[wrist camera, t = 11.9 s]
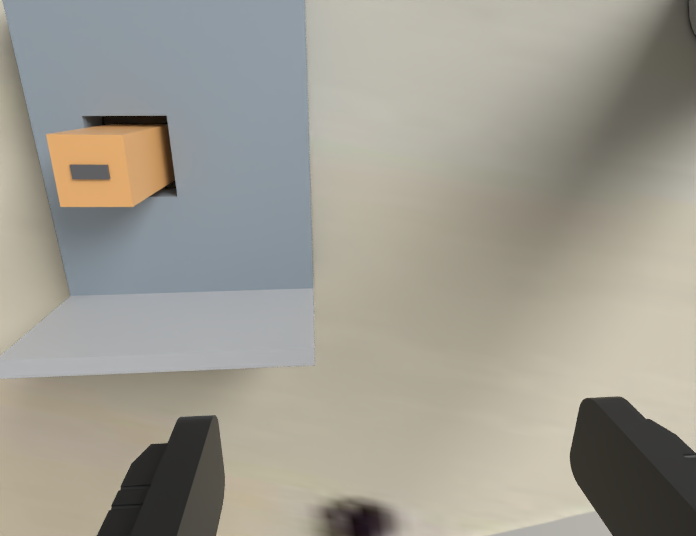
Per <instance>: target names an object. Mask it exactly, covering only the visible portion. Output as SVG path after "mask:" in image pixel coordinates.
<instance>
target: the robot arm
mask: <svg viewBox="0 0 696 536" xmlns="http://www.w3.org/2000/svg"><path fill="white" fill-rule="evenodd" d="M689 17H690V21H691V25H692V29H693V31H694V33H695V35H696V0H689ZM570 464H571V469H572V472H573V475H574V478H575V480H576V482H577V484H578V485H579V487H580V488H581V490H582V491H583V493H584V494H585V495H586V497H587V498H588V500H589V501H590V503H591V504H592V506H593V507H594V509H595V510H596V512H597V513H598V514H599V516H600V517H601V519H602V520H603V522H604V523H605V525H606V526H607V528H608V529H609V531H610V532H611V534H612V535H613V536H696V453H695V452H694V451H693V450H692V449H691V448H690V447H689V446H687V445H686V444H685V443H684V442H683V441H682V440H681V439H680V438H679V437H678V436H677V435H676V434H674V433H672V432H671V431H669V430H667V429H666V428H664V427H662V426H661V425H659V424H657V423H655V422H654V421H652V420H650V419H645V418H644V417H643V416H642V415H641V414H640V413H639V412H638V411H637V410H636V409H635V408H634V407H633V406H632V405H631V404H630V403H629V402H628V401H627V400H626V399H624V398H622V397H600V398H586V399H584V400H583V401H582V402H581V404H580V407H579V412H578V417H577V422H576V427H575V432H574V436H573V441H572V446H571V451H570ZM224 487H225V475H224V465H223V457H222V448H221V440H220V432H219V424H218V419H217V417H216V416H215V415H212V416H192V417H180V418H178V420H177V422H176V424H175V427H174V429H173V431H172V434H171V436H170V439H169V441H168V443H164V444H151V445H150V446H149V447H148V448H147V449H146V450H145V451H144V452H143V453H142V454H141V455H140V456H139V457H138V458H137V459H136V460H135V461H134V462H133V463H132V464H131V466H130V468H129V470H128V472H127V474H126V476H125V478H124V481H123V483H122V485H121V490H120V491H118V493H117V495H116V497H115V499H114V501H113V503H112V508H111V510H109V512H108V514H107V516H106V518H105V520H104V522H103V524H102V526H101V528H100V530H99V532H98V535H97V536H216V533H217V528H218V524H219V519H220V514H221V510H222V505H223V499H224Z"/></svg>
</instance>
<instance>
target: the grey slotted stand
mask: <svg viewBox="0 0 696 536" xmlns="http://www.w3.org/2000/svg"><path fill="white" fill-rule="evenodd" d="M2 1H3V5H4V9H5V14H6V18H7V22H8V27H9V31H10V35H11V40H12V44H13V48H14V53H15V57H16V61H17V66H18V70H19V74H20V79H21V83H22V88H23V92H24V96H25V101H26V105H27V109H28V114H29V118H30V122H31V127H32V131H33V135H34V140H35V144H36V148H37V153H38V157H39V161H40V166H41V170H42V174H43V179H44V183H45V187H46V192H47V196H48V200H49V205H50V209H51V213H52V218H53V222H54V226H55V231H56V235H57V239H58V244H59V248H60V252H61V257H62V261H63V265H64V270H65V274H66V278H67V283H68V287H69V291H70V297H69V298H67V299H66V300H65V301H64V302H63V303H62V304H60V305H59V306H58V307H57V308H56V309H54V310H53V311H52V312H51V313H50V314H49V315H47V316H46V317H45V318H44V319H43V320H42V321H40V322H39V323H38V324H37V325H36V326H34V327H33V328H32V329H31V330H30V331H29V332H27V333H26V334H25V335H24V336H23V337H22V338H20V339H19V340H18V341H17V342H16V343H14V344H13V345H12V346H11V347H10V348H9V349H7V350H6V351H5V352H4V353H3V354H2V355H0V379H9V378H33V377H56V376H80V375H103V374H127V373H150V372H173V371H197V370H220V369H244V368H267V367H291V366H314V365H315V348H314V284H313V251H312V219H311V187H310V154H309V122H308V89H307V57H306V25H305V0H2ZM102 116H167V122H168V129H169V137H170V144H171V152H172V159H173V167H174V175H175V182H176V188H174V189H160V190H159V191H157V192H155V193H154V194H152V195H151V196H149V197H148V198H146V199H145V200H143V201H141V202H140V203H138V204H137V205H135V206H134V207H60V202H59V197H58V192H57V187H56V182H55V177H54V172H53V167H52V162H51V157H50V152H49V147H48V142H47V137H46V134H50V133H57V132H63V131H69V130H76V129H82V128H88V127H95V126H101V125H103V122H102Z"/></svg>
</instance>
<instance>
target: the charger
mask: <svg viewBox="0 0 696 536" xmlns="http://www.w3.org/2000/svg"><path fill="white" fill-rule="evenodd" d="M46 137H47V142H48V147H49V152H50V157H51V162H52V167H53V172H54V177H55V182H56V187H57V192H58V197H59V202H60V207H134V206H135V205H137V204H138V203H140V202H141V201H143V200H145V199H146V198H148V197H149V196H151V195H152V194H154V193H155V192H157V191H159V190H160V189H162V188H163V187H165V186H166V185H168V184H169V183H171V182H173V181H174V180H175V175H174V167H173V159H172V152H171V144H170V137H169V129H168V124H107V125H101V126H95V127H88V128H82V129H76V130H69V131H63V132H57V133H50V134H46Z"/></svg>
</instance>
